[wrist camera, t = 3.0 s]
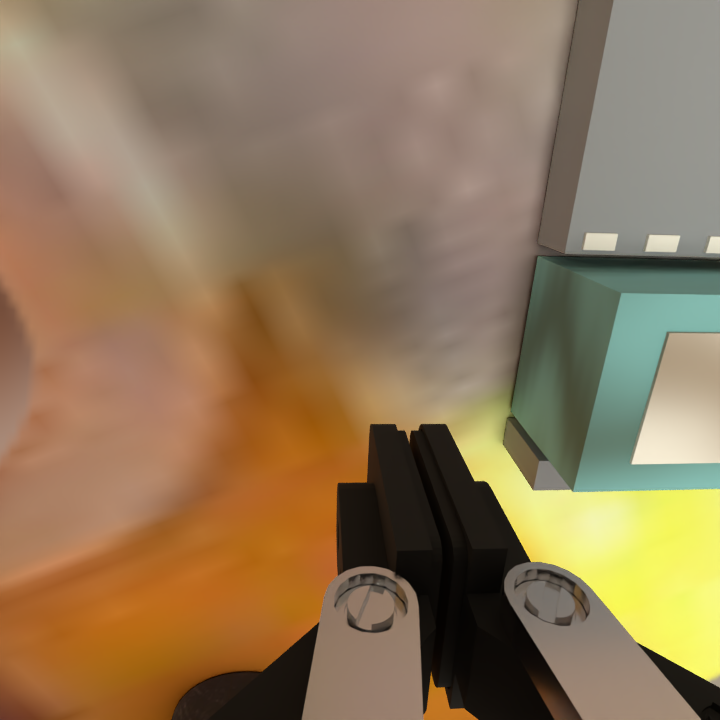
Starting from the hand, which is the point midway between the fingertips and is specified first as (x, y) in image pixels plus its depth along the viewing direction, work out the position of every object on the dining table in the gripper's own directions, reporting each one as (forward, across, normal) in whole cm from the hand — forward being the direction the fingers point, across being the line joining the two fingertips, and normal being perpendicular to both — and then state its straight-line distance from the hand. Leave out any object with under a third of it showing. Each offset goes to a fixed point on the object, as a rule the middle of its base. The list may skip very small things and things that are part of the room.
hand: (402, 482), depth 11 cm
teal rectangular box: (+8, -10, -1) cm, 13 cm away
